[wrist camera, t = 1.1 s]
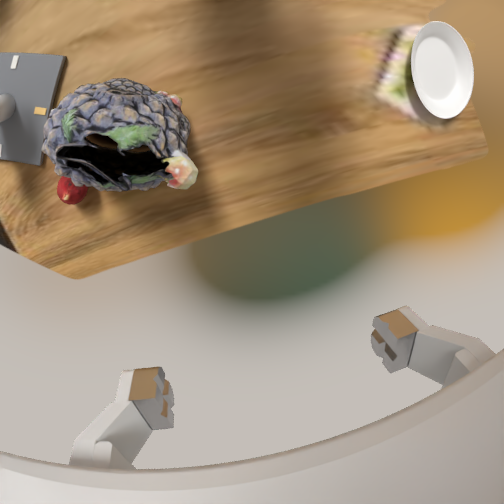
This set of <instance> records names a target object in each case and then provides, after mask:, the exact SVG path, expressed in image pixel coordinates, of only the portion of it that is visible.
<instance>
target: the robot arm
mask: <svg viewBox="0 0 504 504" xmlns="http://www.w3.org/2000/svg"><path fill="white" fill-rule="evenodd" d="M373 327H374V328H375V330H374V331H373V333H372V334H371V343H372V348H373V350H374V352H375V353H376V355H377V356H379V357H382V358H383V362H382V363H383V364H384V366H385V367H386V368H387V370H388V371H389V372H390V373H393V372H395V371H398V370H400V369H403V368H405V367H408V368H410V369H412V370H414V371H416V372H418V373H420V374H422V375H424V376H426V377H428V378H430V379H432V380H434V381H436V382H439V383H440V384H442V385H443V386H442V389H441V390H439V391H437V392H436V393H434V394H432V395H430V396H429V397H427V398H424V399H423V400H421V401H419V402H417V403H415V404H413V405H411V406H409V407H406V408H404V409H402V410H400V411H398V412H396V413H394V414H391V415H389V416H387V417H385V418H382V419H380V420H378V421H375V422H373V423H370V424H368V425H366V426H363V427H360V428H358V429H355V430H352V431H349V432H347V433H344V434H341V435H338V436H335V437H332V438H330V439H326V440H323V441H320V442H316V443H313V444H310V445H306V446H303V447H300V448H295V449H291V450H288V451H284V452H279V453H275V454H271V455H266V456H261V457H256V458H251V459H246V460H240V461H235V462H228V463H221V464H214V465H205V466H197V467H184V468H170V469H136V468H135V467H134V466H133V465H132V462H133V460H134V459H135V457H136V456H137V454H138V453H139V451H140V450H141V448H142V447H143V445H144V444H145V442H146V441H147V439H148V438H149V436H150V434H151V433H152V430H159V429H168V428H173V427H174V426H173V425H174V424H173V423H174V414H173V412H172V410H171V408H172V407H173V405H174V396H173V391H172V388H171V385H170V383H169V382H168V381H167V380H165V373H164V371H163V369H162V367H152V368H142V369H134V370H124V371H123V372H122V373H121V377H120V381H119V386H118V390H117V395H116V399H115V402H111V403H110V404H109V405H108V406H107V407H106V408H105V409H104V410H103V411H102V412H101V413H100V414H99V415H98V416H97V417H96V418H95V419H94V420H93V421H92V422H91V424H89V426H88V427H87V428H86V429H85V430H84V431H83V432H82V433H81V434H80V435H79V436H78V437H77V438H76V439H75V441H74V445H73V450H72V454H71V458H70V462H69V465H66V464H59V463H51V462H46V461H41V460H35V459H31V458H26V457H21V456H17V455H13V454H10V453H6V452H1V451H0V504H504V349H503V350H501V351H500V352H499V353H497V354H495V353H494V352H493V351H492V350H491V349H490V348H489V347H488V346H487V345H485V344H484V343H483V342H482V341H481V340H480V339H479V338H475V337H472V336H468V335H465V334H461V333H458V332H454V331H451V330H447V329H443V328H440V327H436V326H433V325H432V326H429V325H428V324H427V323H426V322H425V321H424V320H422V319H421V318H420V317H419V316H418V315H417V314H416V313H415V312H414V311H413V310H412V309H411V308H410V307H408V306H404V307H401V308H398V309H396V310H393V311H390V312H388V313H385V314H382V315H379V316H376V317H374V319H373Z"/></svg>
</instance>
